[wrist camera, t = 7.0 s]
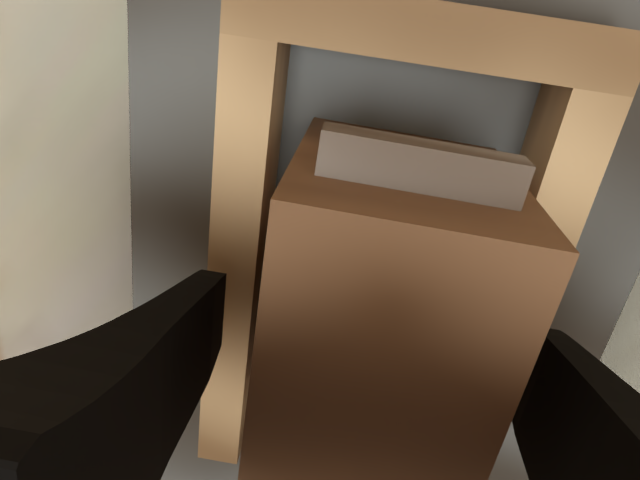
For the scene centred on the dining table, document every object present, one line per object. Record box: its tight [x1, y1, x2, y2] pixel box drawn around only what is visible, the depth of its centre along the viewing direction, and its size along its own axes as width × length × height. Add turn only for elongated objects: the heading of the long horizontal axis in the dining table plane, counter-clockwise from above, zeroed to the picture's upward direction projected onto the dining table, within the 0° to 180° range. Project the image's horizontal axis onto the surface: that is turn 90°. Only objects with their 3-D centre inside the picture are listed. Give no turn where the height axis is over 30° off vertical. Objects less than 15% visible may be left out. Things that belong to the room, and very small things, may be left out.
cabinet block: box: [238, 117, 580, 480], centre depth 12 cm, size 9×5×6 cm, turn 172°
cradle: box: [127, 0, 640, 480], centre depth 14 cm, size 20×14×3 cm
